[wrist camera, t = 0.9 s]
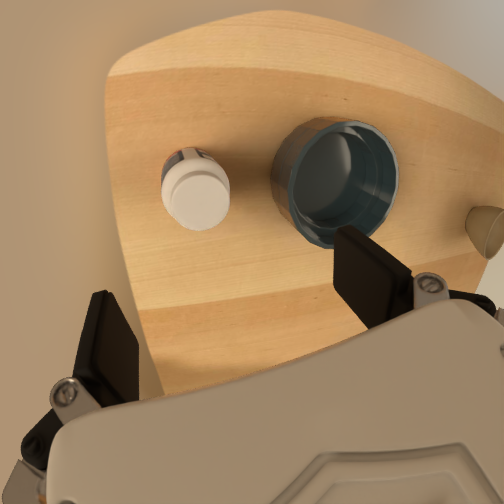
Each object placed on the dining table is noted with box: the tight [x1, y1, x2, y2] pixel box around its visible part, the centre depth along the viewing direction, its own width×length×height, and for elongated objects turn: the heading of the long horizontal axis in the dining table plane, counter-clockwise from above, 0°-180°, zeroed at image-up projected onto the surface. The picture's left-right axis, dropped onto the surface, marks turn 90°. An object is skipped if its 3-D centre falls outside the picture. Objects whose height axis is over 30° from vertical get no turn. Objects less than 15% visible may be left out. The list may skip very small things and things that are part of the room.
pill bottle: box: [161, 148, 230, 231], centre depth 22 cm, size 5×5×9 cm
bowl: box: [271, 117, 399, 249], centre depth 28 cm, size 13×13×5 cm
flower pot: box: [465, 206, 504, 260], centre depth 39 cm, size 10×10×7 cm
